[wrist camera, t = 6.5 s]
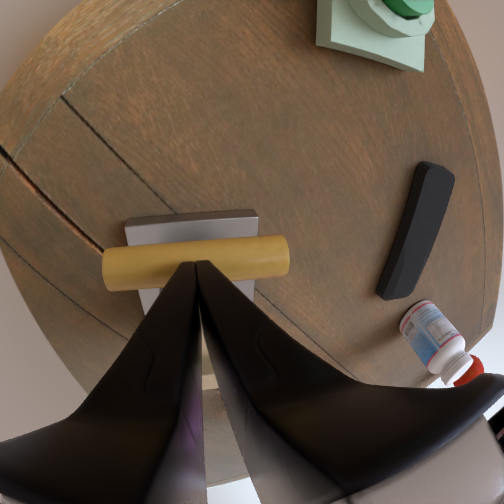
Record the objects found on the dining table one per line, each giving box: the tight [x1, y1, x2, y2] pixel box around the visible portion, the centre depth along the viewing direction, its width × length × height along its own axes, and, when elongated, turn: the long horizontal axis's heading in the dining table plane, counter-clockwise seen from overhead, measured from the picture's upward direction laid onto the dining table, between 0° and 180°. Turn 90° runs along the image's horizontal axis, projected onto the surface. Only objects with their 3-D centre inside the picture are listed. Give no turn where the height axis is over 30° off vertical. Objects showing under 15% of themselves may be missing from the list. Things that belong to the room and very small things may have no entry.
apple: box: [453, 354, 484, 387], centre depth 45 cm, size 9×8×11 cm
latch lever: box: [102, 235, 290, 390], centre depth 13 cm, size 11×6×2 cm, turn 178°
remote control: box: [376, 162, 455, 301], centre depth 24 cm, size 5×2×15 cm
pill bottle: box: [400, 300, 473, 386], centre depth 29 cm, size 6×6×11 cm
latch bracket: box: [125, 210, 259, 315], centre depth 18 cm, size 12×9×10 cm
